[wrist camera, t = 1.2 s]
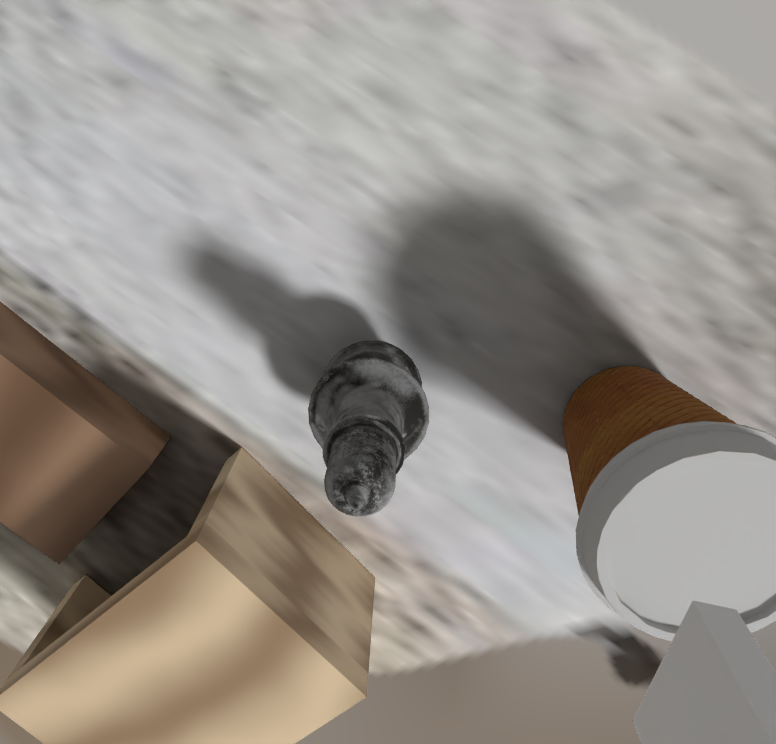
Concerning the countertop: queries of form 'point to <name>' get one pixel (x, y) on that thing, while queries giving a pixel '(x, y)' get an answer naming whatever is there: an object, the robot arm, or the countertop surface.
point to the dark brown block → (62, 442)
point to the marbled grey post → (367, 423)
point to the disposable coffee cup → (670, 502)
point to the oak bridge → (208, 634)
